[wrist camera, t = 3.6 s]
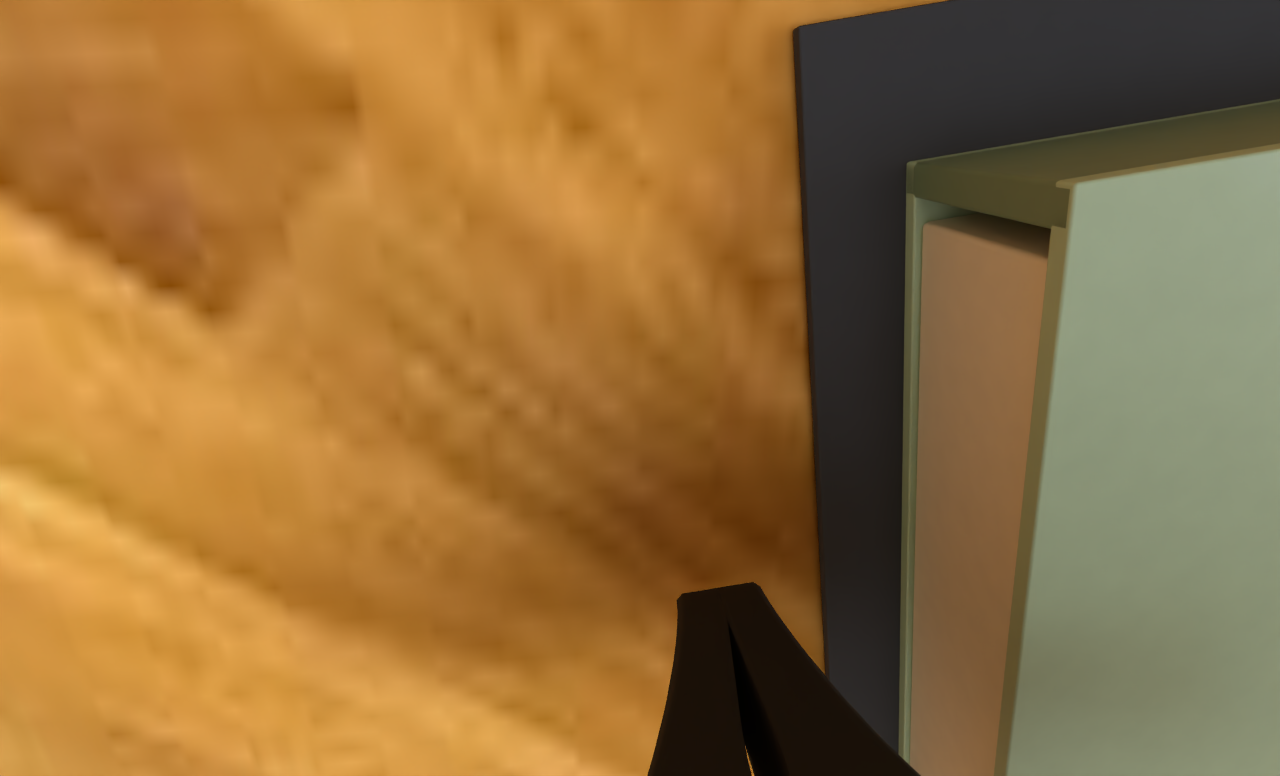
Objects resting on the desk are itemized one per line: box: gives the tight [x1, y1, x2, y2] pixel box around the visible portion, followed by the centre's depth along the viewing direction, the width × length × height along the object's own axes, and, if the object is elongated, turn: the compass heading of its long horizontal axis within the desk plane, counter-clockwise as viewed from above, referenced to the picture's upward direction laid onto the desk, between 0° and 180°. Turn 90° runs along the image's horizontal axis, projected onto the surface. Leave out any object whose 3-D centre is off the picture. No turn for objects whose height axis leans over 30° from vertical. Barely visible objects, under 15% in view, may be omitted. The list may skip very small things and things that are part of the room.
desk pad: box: [793, 0, 1280, 753], centre depth 12 cm, size 18×18×1 cm
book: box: [898, 99, 1280, 776], centre depth 10 cm, size 10×14×4 cm
